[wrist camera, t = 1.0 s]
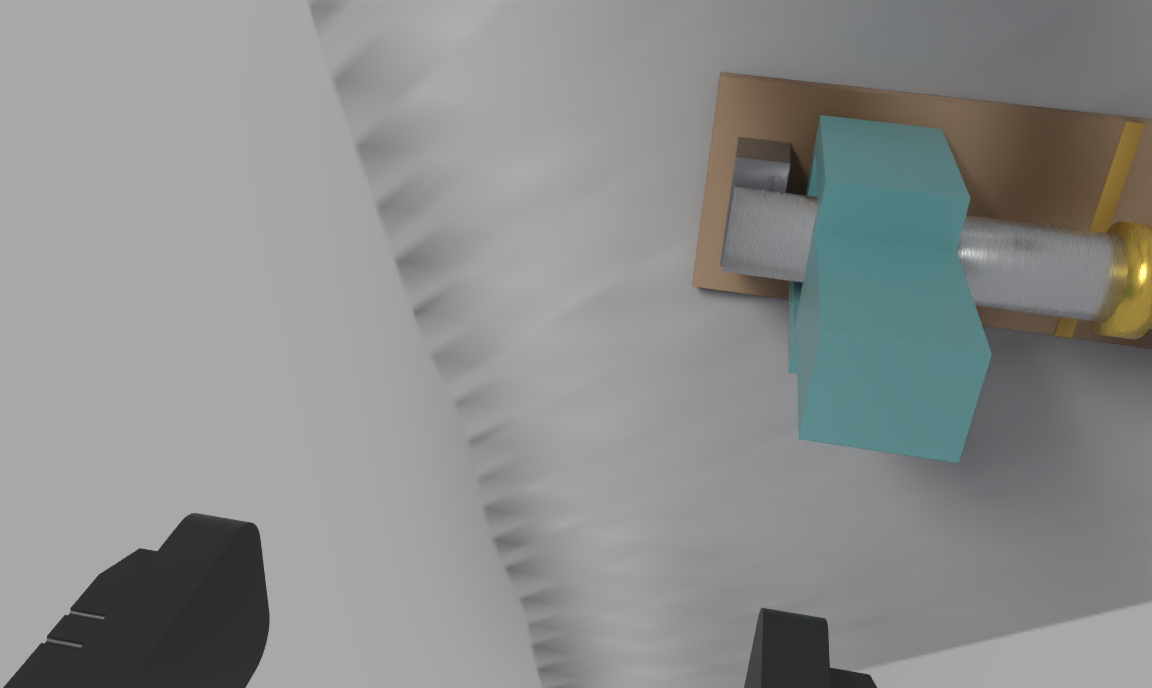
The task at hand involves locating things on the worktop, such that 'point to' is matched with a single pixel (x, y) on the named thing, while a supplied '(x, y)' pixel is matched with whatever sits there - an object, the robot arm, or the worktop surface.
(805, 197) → the pipe
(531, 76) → the worktop surface
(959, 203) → the sleeve
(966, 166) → the board
